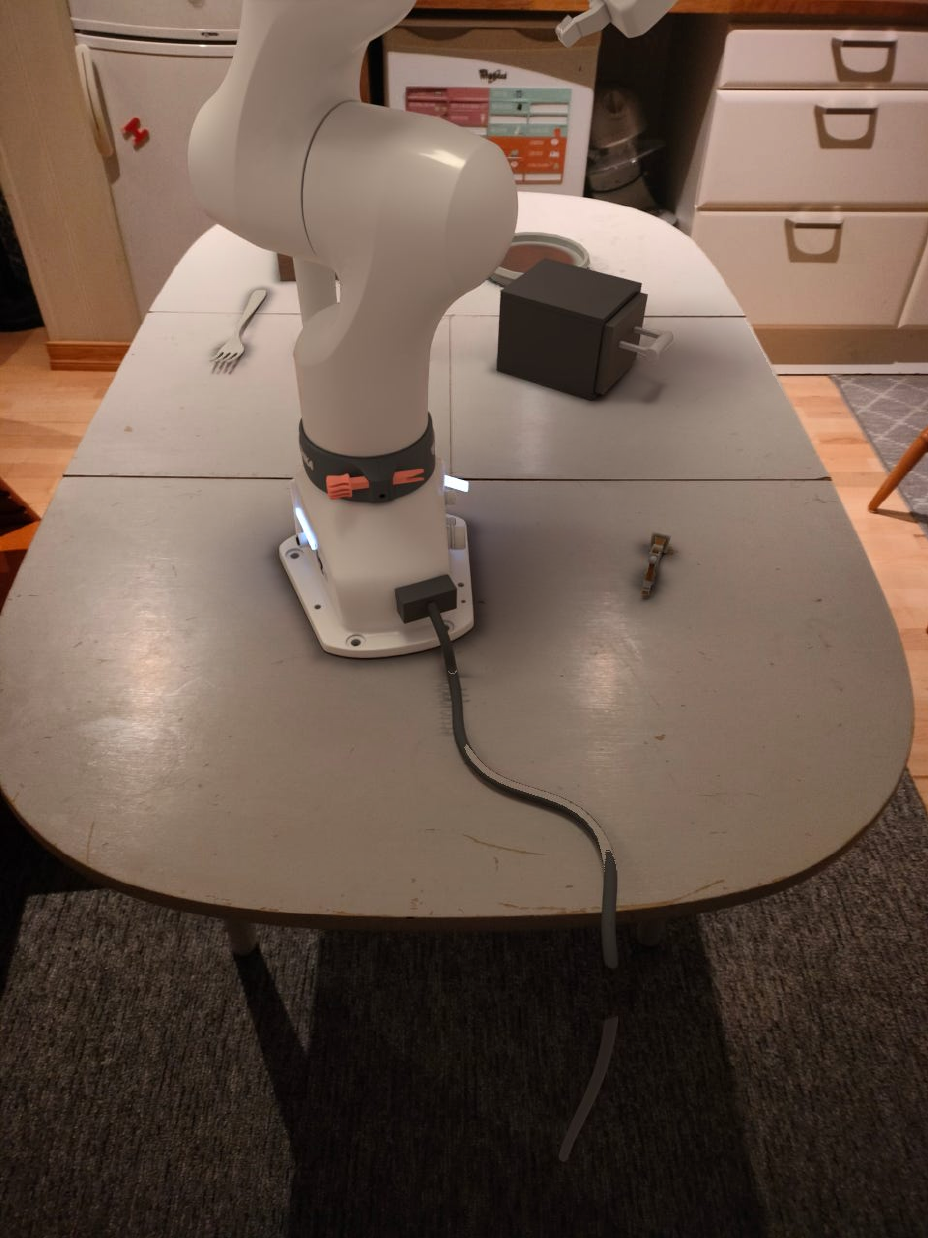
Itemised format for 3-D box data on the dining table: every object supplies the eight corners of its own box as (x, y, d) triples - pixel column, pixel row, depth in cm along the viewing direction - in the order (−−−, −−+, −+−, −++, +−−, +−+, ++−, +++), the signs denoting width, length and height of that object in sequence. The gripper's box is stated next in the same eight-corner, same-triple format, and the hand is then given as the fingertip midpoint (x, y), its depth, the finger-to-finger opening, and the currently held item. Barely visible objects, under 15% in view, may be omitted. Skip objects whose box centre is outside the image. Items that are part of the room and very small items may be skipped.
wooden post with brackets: (633, 595, 79) (645, 549, 77) (642, 571, 86) (653, 529, 84) (653, 600, 79) (664, 554, 77) (660, 575, 86) (671, 533, 84)
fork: (272, 290, 124) (271, 278, 123) (233, 374, 107) (231, 361, 106) (251, 289, 124) (249, 277, 123) (208, 373, 108) (205, 360, 106)
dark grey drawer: (672, 370, 109) (686, 304, 102) (641, 406, 102) (654, 338, 96) (551, 334, 115) (557, 270, 108) (514, 366, 108) (518, 300, 102)
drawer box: (628, 361, 112) (642, 282, 104) (591, 400, 105) (603, 319, 97) (537, 334, 116) (544, 257, 109) (496, 370, 109) (500, 290, 102)
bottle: (335, 360, 110) (315, 150, 93) (298, 355, 111) (270, 146, 93) (347, 341, 114) (330, 136, 96) (310, 337, 115) (286, 132, 97)
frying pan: (403, 236, 133) (576, 226, 136) (404, 255, 136) (575, 245, 138) (413, 283, 122) (603, 271, 124) (414, 302, 124) (601, 290, 126)
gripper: (579, -175, 83) (472, -61, 87) (703, -78, 75) (579, 42, 79) (598, -115, 89) (497, -11, 92) (715, -19, 81) (599, 91, 84)
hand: (535, 15), depth 85 cm, fingers open, 8 cm apart
